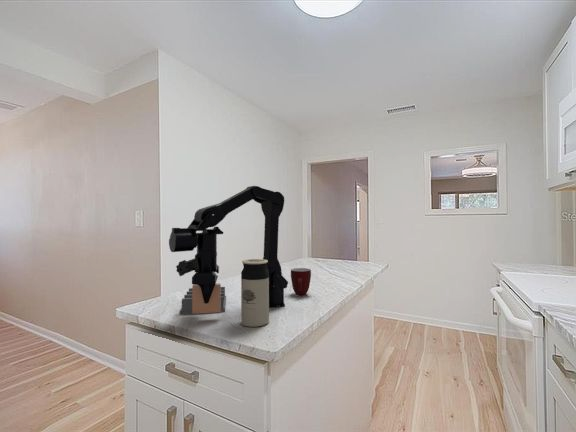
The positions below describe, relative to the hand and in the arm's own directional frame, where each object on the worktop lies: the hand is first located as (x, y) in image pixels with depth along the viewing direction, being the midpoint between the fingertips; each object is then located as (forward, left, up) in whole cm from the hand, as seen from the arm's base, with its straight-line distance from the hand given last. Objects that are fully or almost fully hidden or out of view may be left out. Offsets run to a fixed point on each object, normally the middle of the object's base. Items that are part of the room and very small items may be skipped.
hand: (206, 301), depth 87 cm
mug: (-34, -22, -6) cm, 41 cm away
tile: (0, 0, -3) cm, 3 cm away
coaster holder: (+2, -15, -5) cm, 16 cm away
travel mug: (-14, +5, -6) cm, 16 cm away
